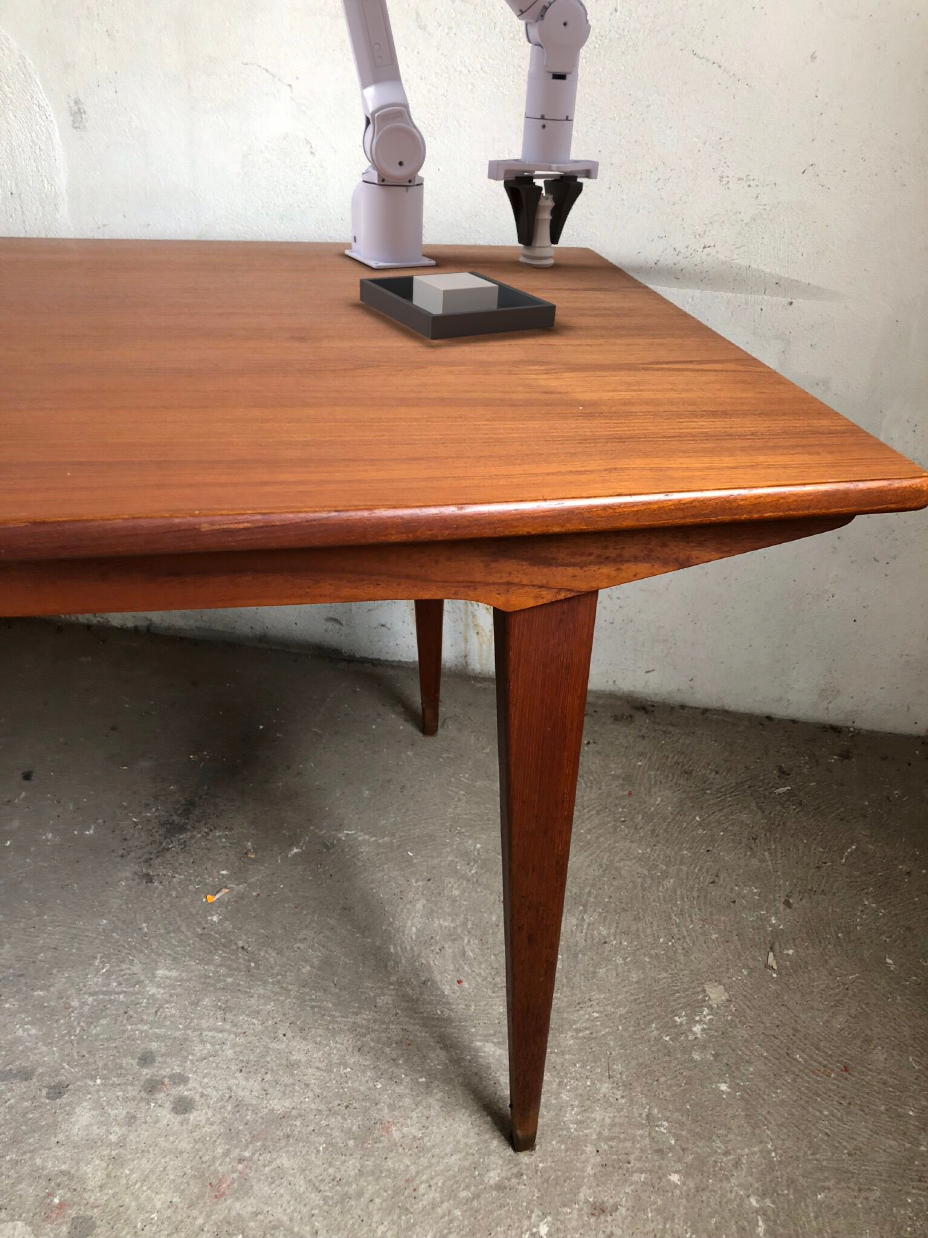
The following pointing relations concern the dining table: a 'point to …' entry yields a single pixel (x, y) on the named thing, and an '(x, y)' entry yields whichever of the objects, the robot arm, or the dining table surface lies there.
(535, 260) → the rook chess piece
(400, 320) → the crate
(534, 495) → the dining table surface
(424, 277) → the grey block
